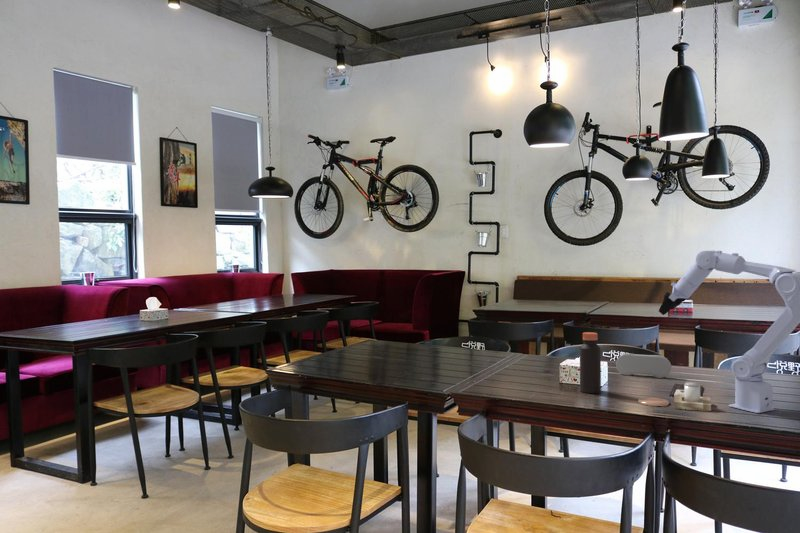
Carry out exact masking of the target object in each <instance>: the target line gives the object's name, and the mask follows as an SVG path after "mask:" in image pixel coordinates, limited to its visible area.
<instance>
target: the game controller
mask: <svg viewBox="0 0 800 533" xmlns="http://www.w3.org/2000/svg"><path fill="white" fill-rule="evenodd" d="M615 367H616V370H617V371H618V372H619V373H620V374H621V375H622V376H633V375H634V374H635V375H638V374H639V375H647V376H649V375H650V376H653V377H655V378H660V379H662V378H666V377H668V375H670V373H671V372H672V371H671V370H672V364H671V362H670V361H669V359H668V358H667V357H666V356H663V355H658V354H639V353H638V354H635V353H627V352H626V353H622V354H621V355H620V356H618V358H617V359H616V362H615Z"/></svg>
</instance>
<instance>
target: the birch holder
mask: <svg viewBox="0 0 800 533" xmlns="http://www.w3.org/2000/svg"><path fill="white" fill-rule="evenodd" d="M673 398H674V400H673V402H674V403H673V409H674V408H675V409H676V410H685V409H686V411H687V410H688V411H697V410H698V411H697V412H700V411H701V412H708V411H711V412H712V403H711V398H710V397H709V396H701V397H700V402H688V401H684V395H675V396H674V397H673Z"/></svg>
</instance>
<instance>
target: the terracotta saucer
mask: <svg viewBox="0 0 800 533" xmlns="http://www.w3.org/2000/svg"><path fill="white" fill-rule="evenodd" d="M637 403H638V404H641V405H643V406H647V405H648V407H657V406H661V407H666V406H669V404H670V401H669V400H667V399H664V398H659V397H652V396H651V397H639V398H638V399H637Z"/></svg>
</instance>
